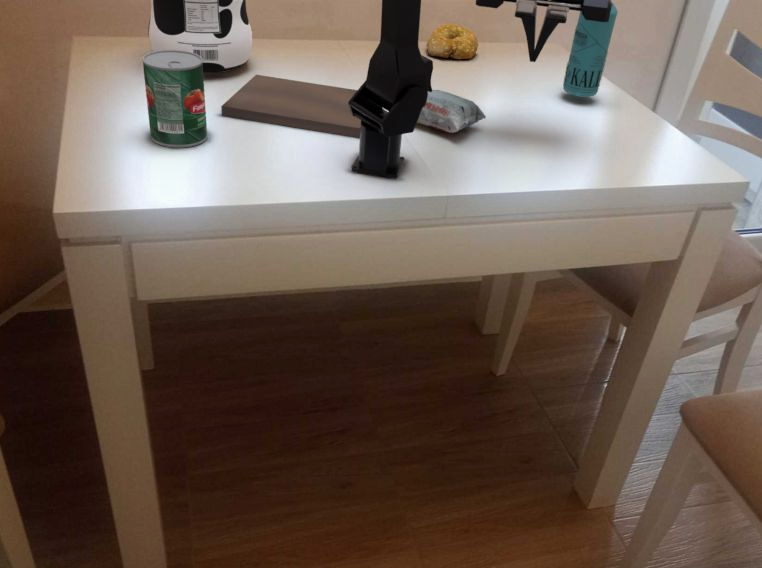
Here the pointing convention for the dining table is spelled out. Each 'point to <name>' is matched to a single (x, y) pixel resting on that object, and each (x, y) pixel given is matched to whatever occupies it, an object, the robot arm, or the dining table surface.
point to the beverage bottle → (588, 55)
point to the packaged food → (449, 112)
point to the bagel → (452, 42)
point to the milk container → (203, 31)
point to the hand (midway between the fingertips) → (532, 61)
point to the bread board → (294, 105)
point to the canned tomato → (175, 98)
